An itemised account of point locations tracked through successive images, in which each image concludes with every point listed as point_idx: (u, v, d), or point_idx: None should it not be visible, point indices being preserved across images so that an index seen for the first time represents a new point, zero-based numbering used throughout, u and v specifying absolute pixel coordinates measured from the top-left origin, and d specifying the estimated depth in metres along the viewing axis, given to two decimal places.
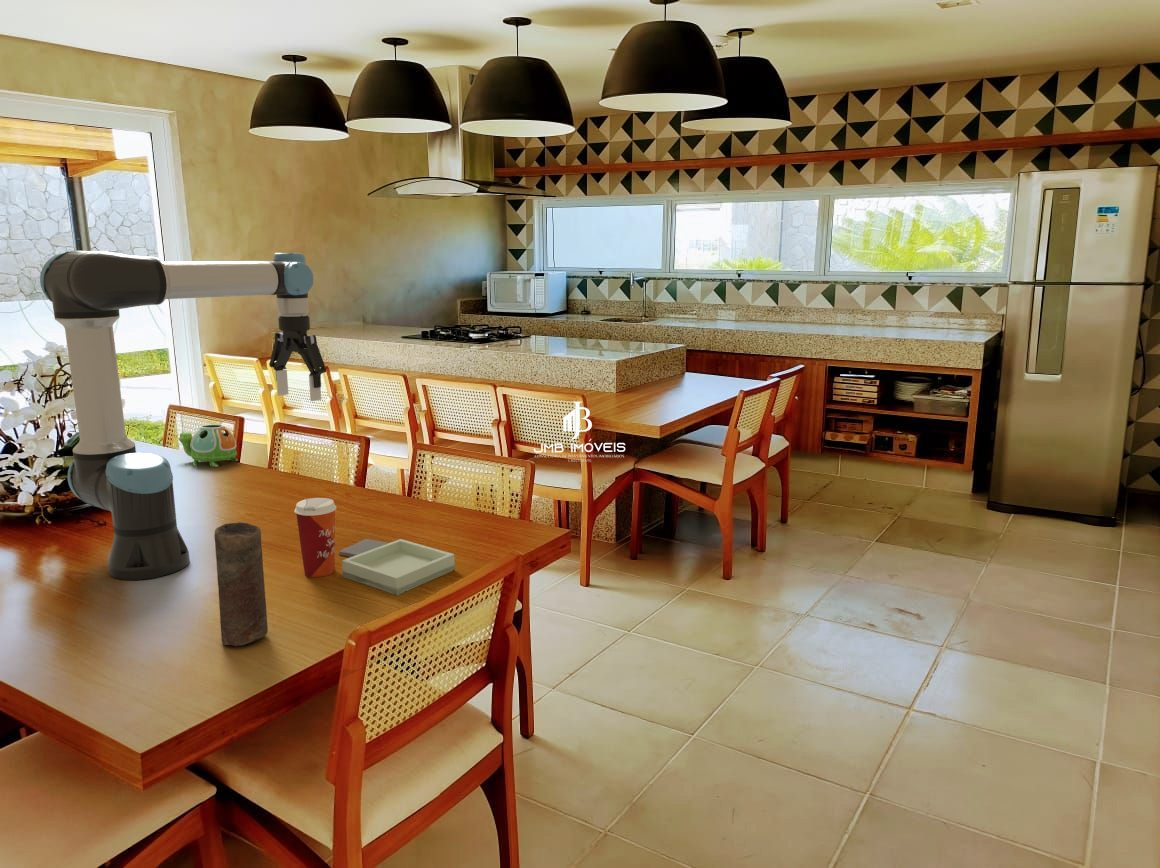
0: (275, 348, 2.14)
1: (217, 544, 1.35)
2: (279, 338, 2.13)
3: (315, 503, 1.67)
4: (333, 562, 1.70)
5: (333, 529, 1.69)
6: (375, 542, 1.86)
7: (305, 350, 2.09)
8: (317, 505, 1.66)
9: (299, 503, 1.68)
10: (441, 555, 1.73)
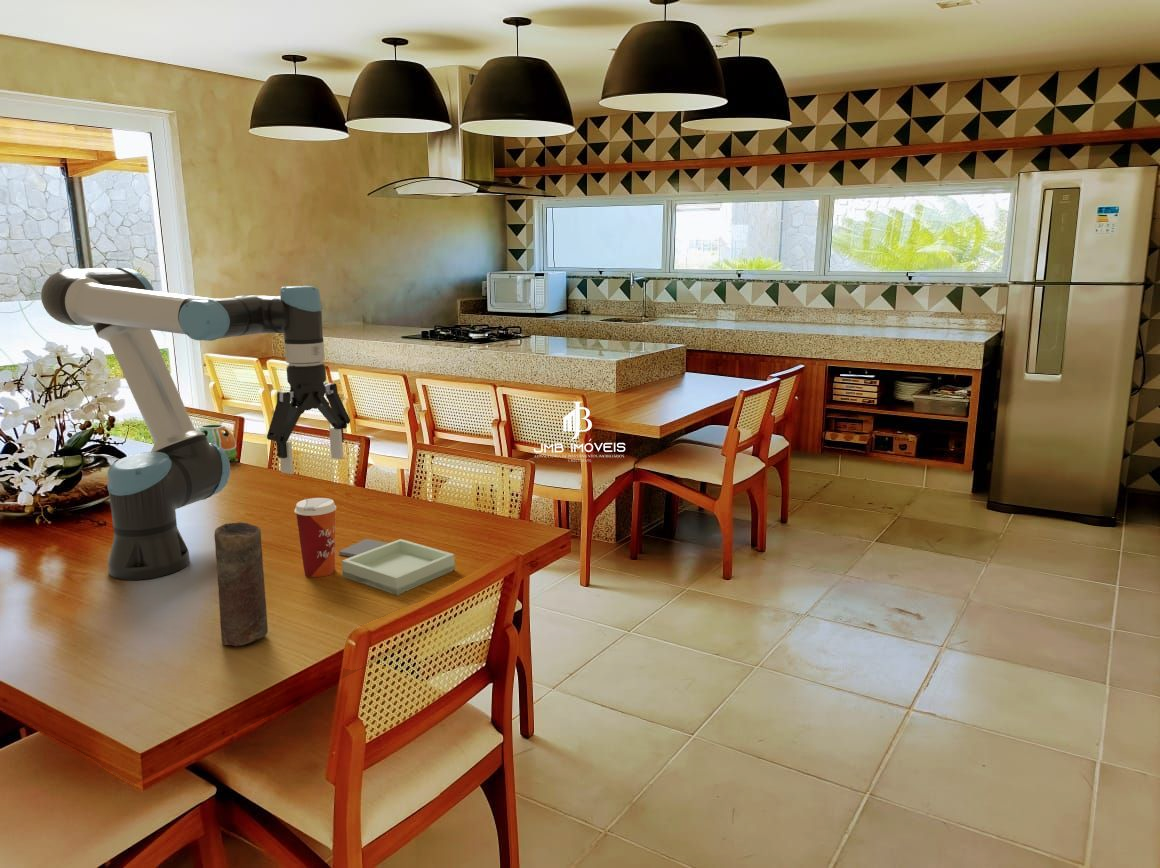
0: None
1: (217, 544, 1.35)
2: None
3: (315, 503, 1.67)
4: (333, 562, 1.70)
5: (333, 529, 1.69)
6: (375, 542, 1.86)
7: (293, 409, 1.65)
8: (317, 505, 1.66)
9: (299, 503, 1.68)
10: (441, 555, 1.73)
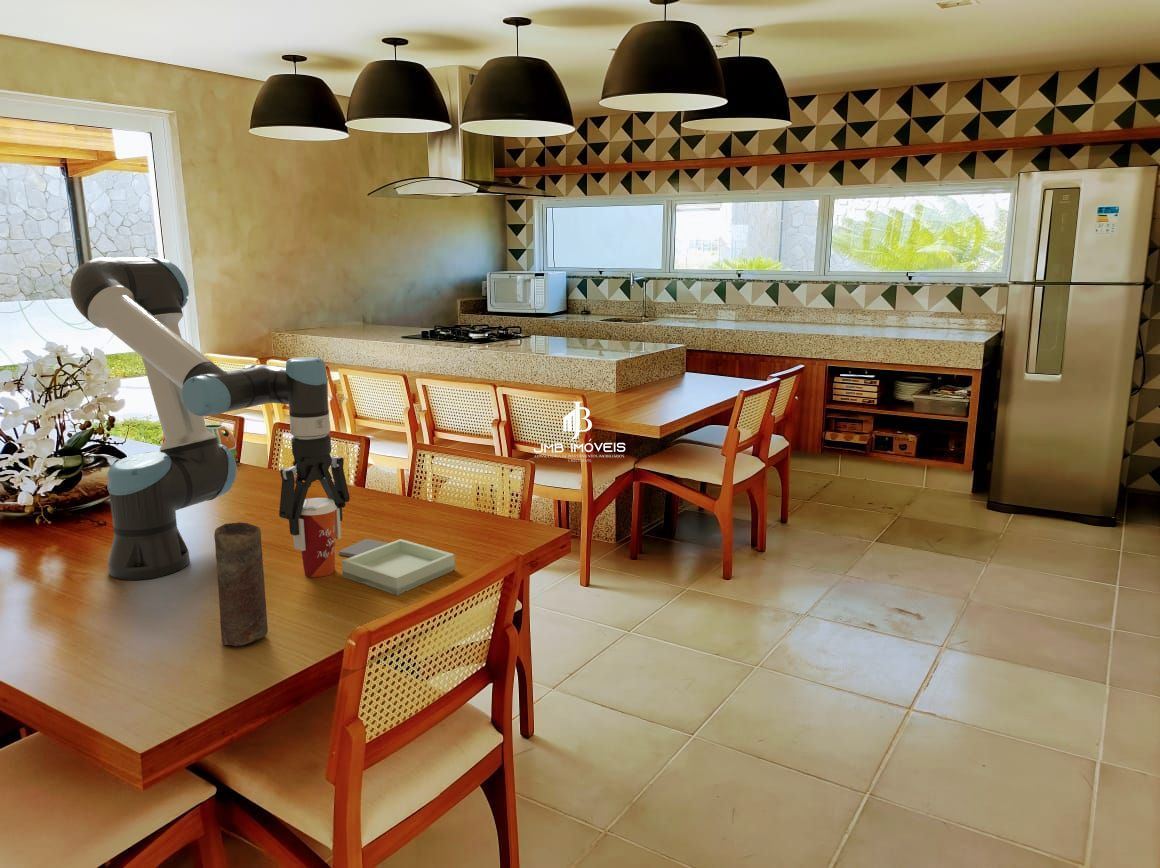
0: None
1: (217, 544, 1.35)
2: None
3: (316, 503, 1.67)
4: (333, 562, 1.70)
5: (333, 529, 1.69)
6: (375, 542, 1.86)
7: (299, 484, 1.65)
8: (317, 505, 1.66)
9: None
10: (441, 555, 1.73)
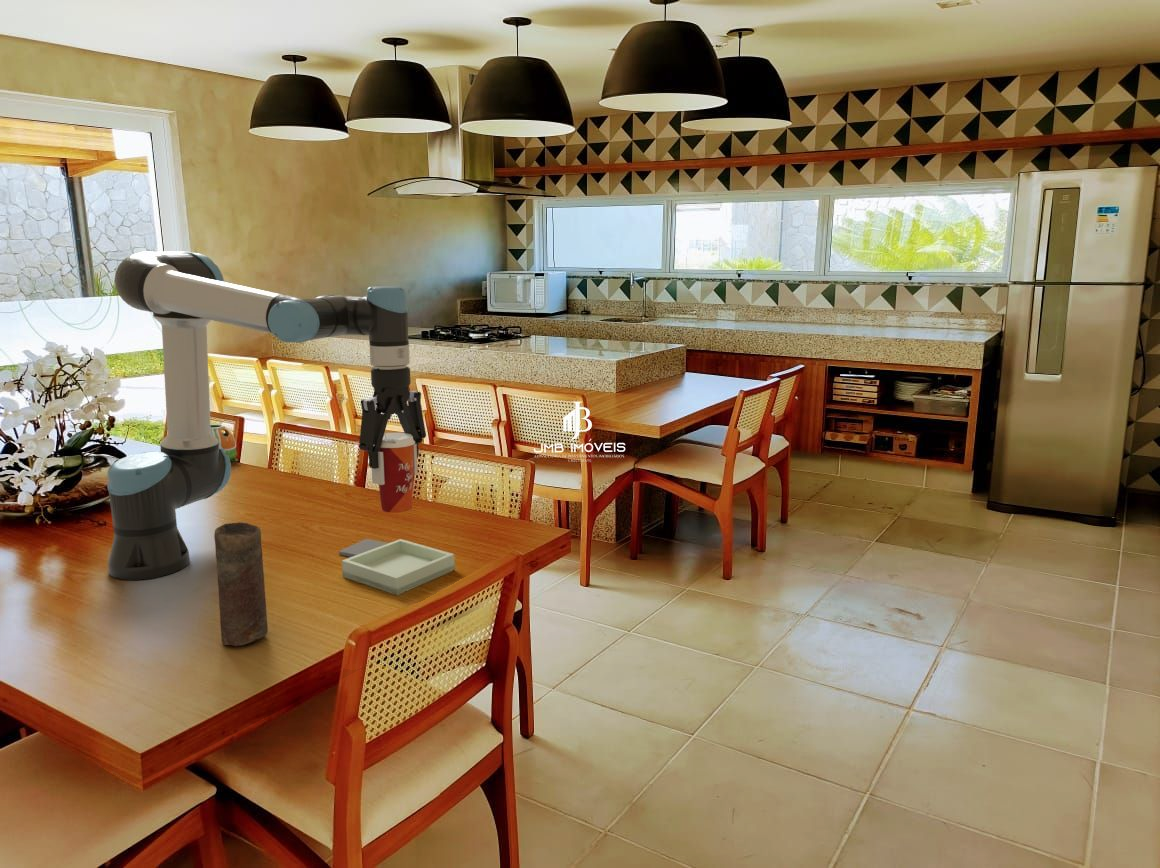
0: None
1: (217, 544, 1.35)
2: None
3: (394, 437, 1.64)
4: (411, 498, 1.67)
5: (412, 464, 1.65)
6: (375, 542, 1.86)
7: (379, 416, 1.61)
8: (397, 438, 1.63)
9: None
10: (441, 555, 1.73)
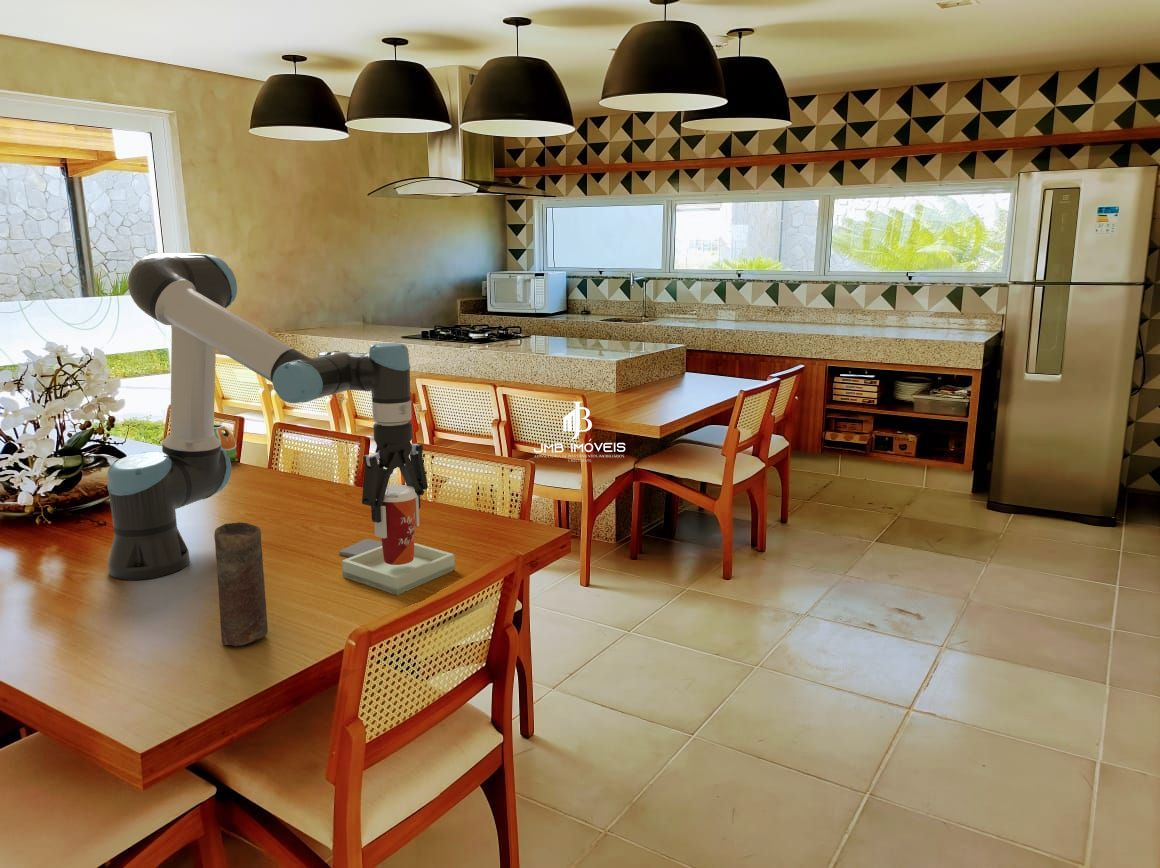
0: None
1: (217, 544, 1.35)
2: None
3: (397, 490, 1.66)
4: (413, 550, 1.69)
5: (414, 516, 1.68)
6: (375, 542, 1.86)
7: (381, 470, 1.63)
8: (399, 492, 1.65)
9: None
10: (441, 555, 1.73)
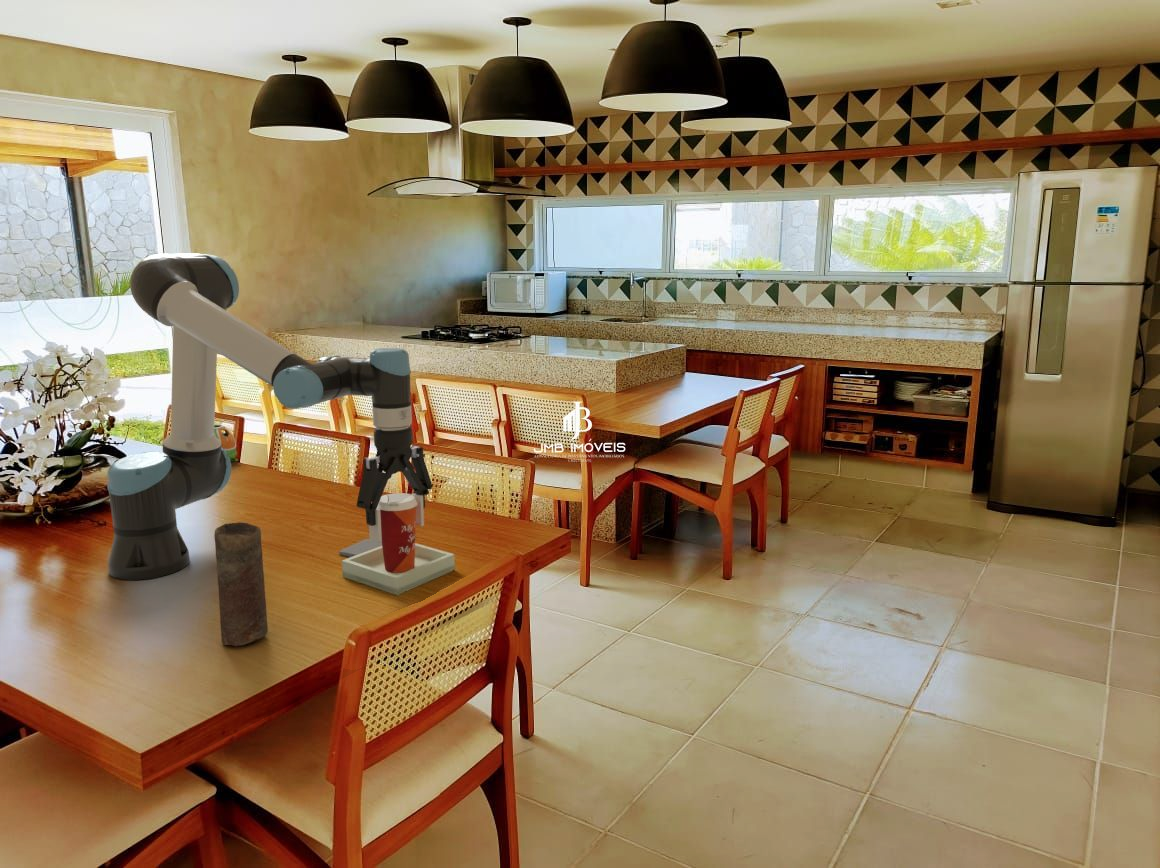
0: None
1: (217, 544, 1.35)
2: None
3: (397, 499, 1.67)
4: (413, 558, 1.70)
5: (414, 524, 1.68)
6: (375, 542, 1.86)
7: (380, 474, 1.63)
8: (399, 500, 1.66)
9: (381, 498, 1.67)
10: (441, 555, 1.73)
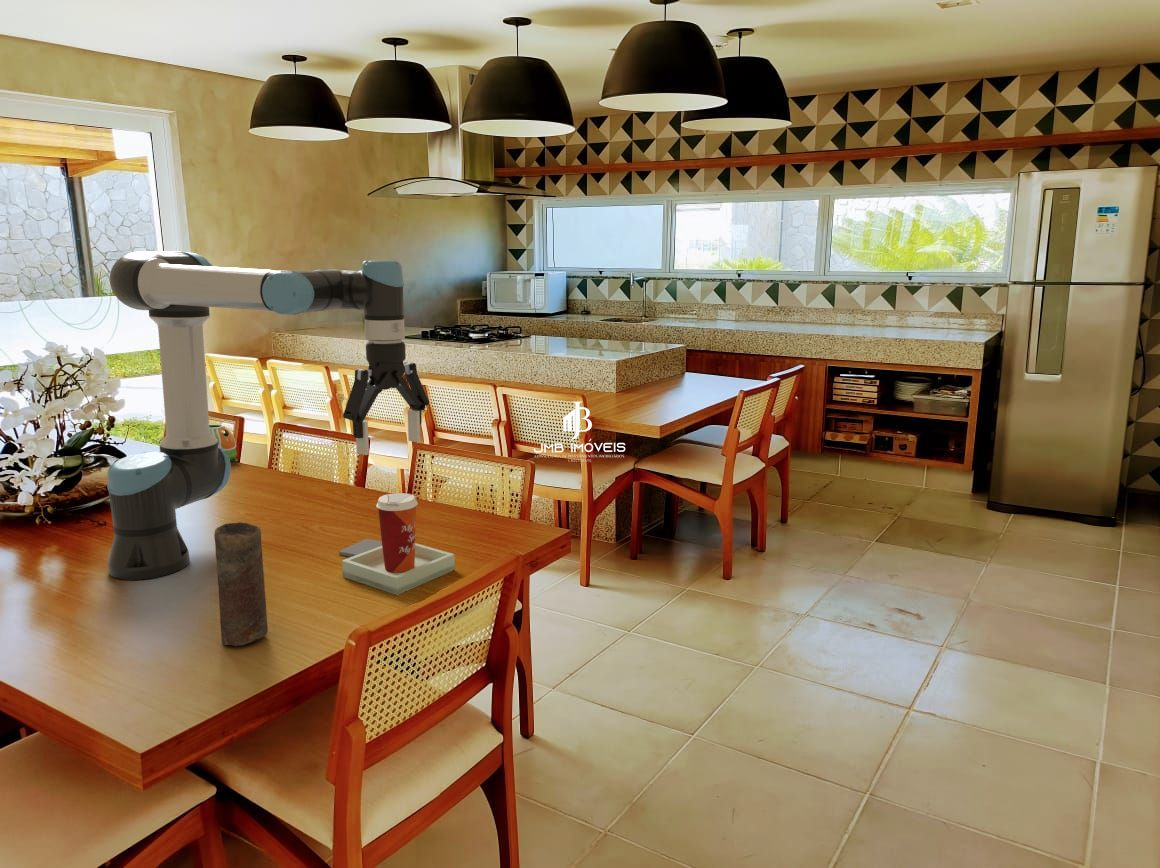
0: None
1: (217, 544, 1.35)
2: None
3: (397, 499, 1.67)
4: (413, 558, 1.70)
5: (414, 524, 1.68)
6: (375, 542, 1.86)
7: (370, 388, 1.60)
8: (399, 500, 1.66)
9: (381, 498, 1.67)
10: (441, 555, 1.73)
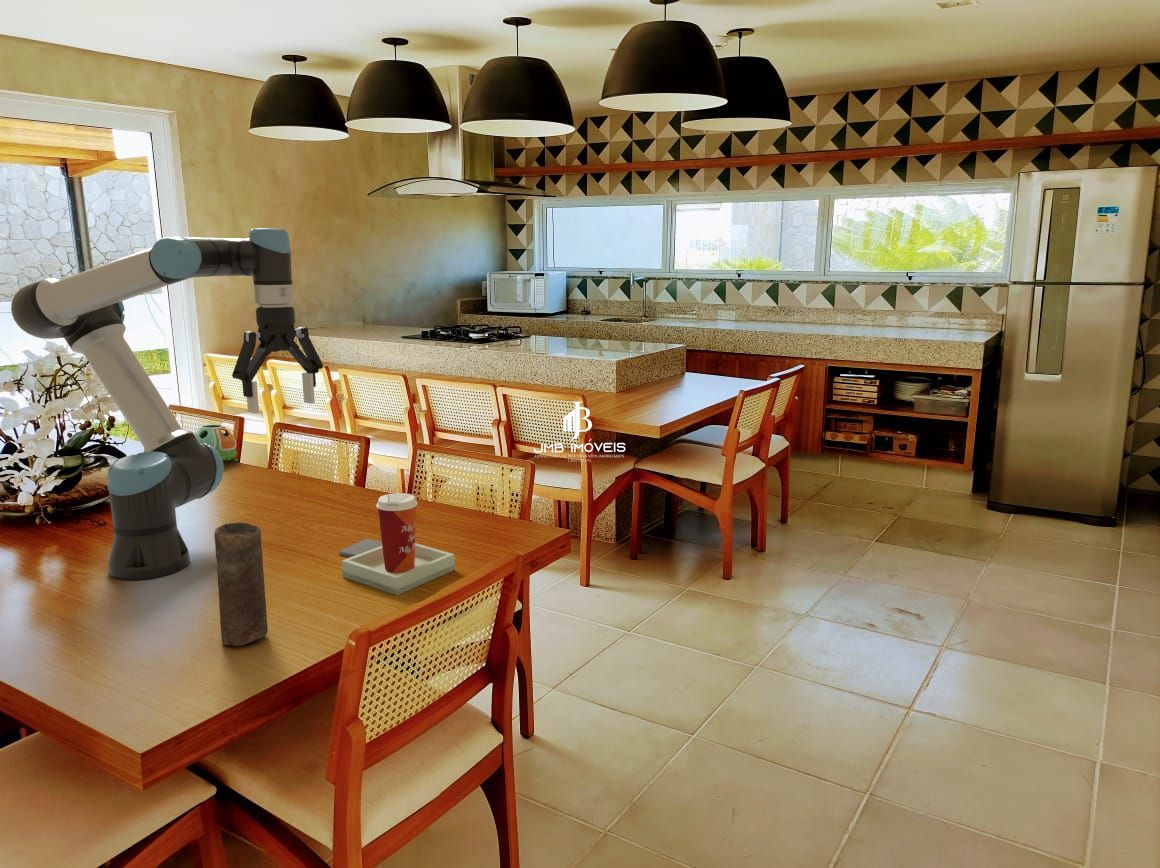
0: None
1: (217, 544, 1.35)
2: None
3: (397, 499, 1.67)
4: (413, 558, 1.70)
5: (414, 524, 1.68)
6: (375, 542, 1.86)
7: (260, 349, 1.68)
8: (399, 500, 1.66)
9: (381, 498, 1.67)
10: (441, 555, 1.73)
